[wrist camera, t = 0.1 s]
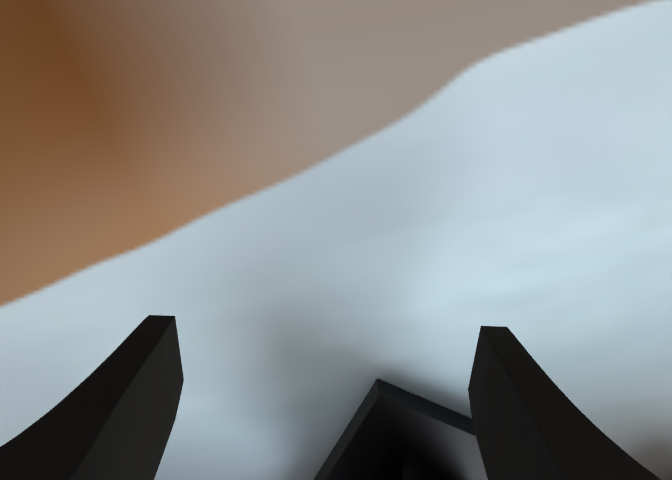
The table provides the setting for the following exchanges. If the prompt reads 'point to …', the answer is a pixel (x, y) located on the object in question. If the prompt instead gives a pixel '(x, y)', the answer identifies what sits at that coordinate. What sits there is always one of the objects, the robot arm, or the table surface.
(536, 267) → the table surface
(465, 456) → the black lever mount
